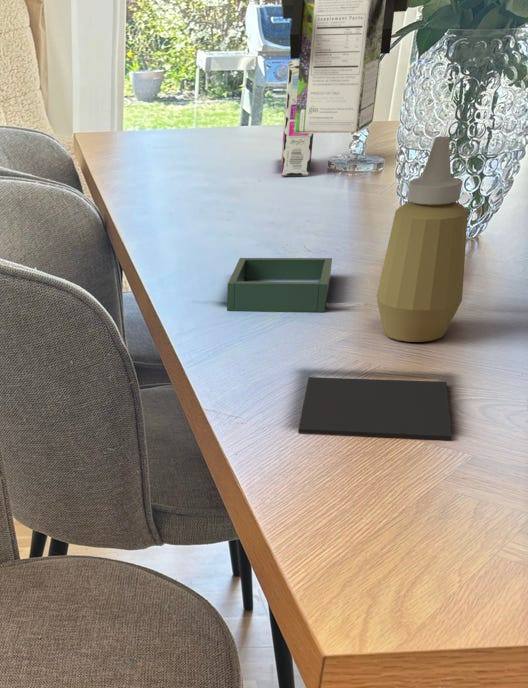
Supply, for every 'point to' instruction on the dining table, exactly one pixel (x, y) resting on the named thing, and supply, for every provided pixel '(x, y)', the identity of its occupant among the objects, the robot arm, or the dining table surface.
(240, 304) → the tray
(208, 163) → the dining table surface
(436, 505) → the dining table surface
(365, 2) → the syrup box
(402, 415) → the mat
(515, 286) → the dining table surface
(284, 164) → the candy bar box
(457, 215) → the squeeze bottle
